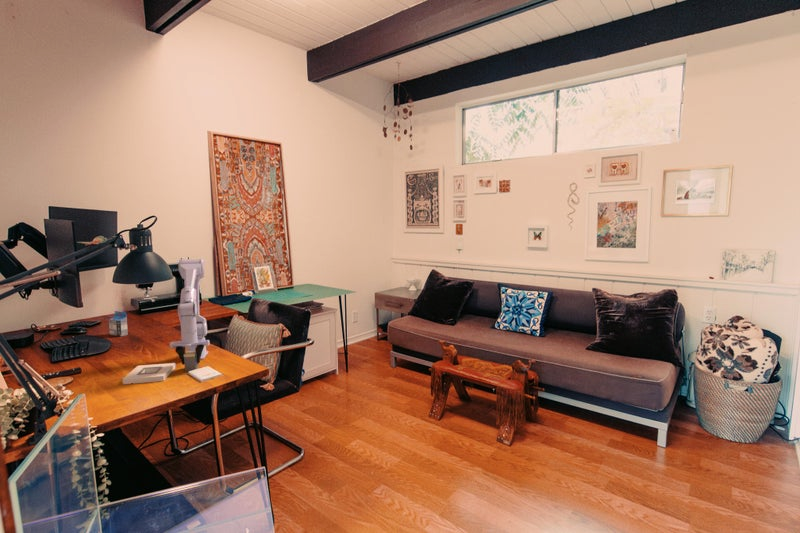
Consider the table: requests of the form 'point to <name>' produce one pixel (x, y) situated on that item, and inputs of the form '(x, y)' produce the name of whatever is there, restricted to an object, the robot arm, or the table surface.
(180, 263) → the robot arm
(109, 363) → the table surface
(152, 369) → the socket
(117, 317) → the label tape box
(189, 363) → the plug
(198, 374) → the external hard drive
